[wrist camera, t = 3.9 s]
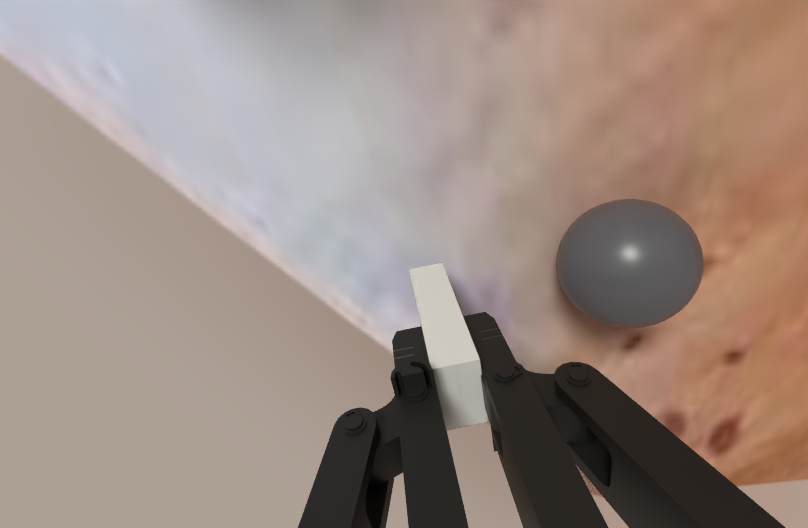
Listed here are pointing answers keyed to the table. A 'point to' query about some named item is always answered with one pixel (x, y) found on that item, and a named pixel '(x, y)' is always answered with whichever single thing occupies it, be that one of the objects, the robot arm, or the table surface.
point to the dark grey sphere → (630, 263)
